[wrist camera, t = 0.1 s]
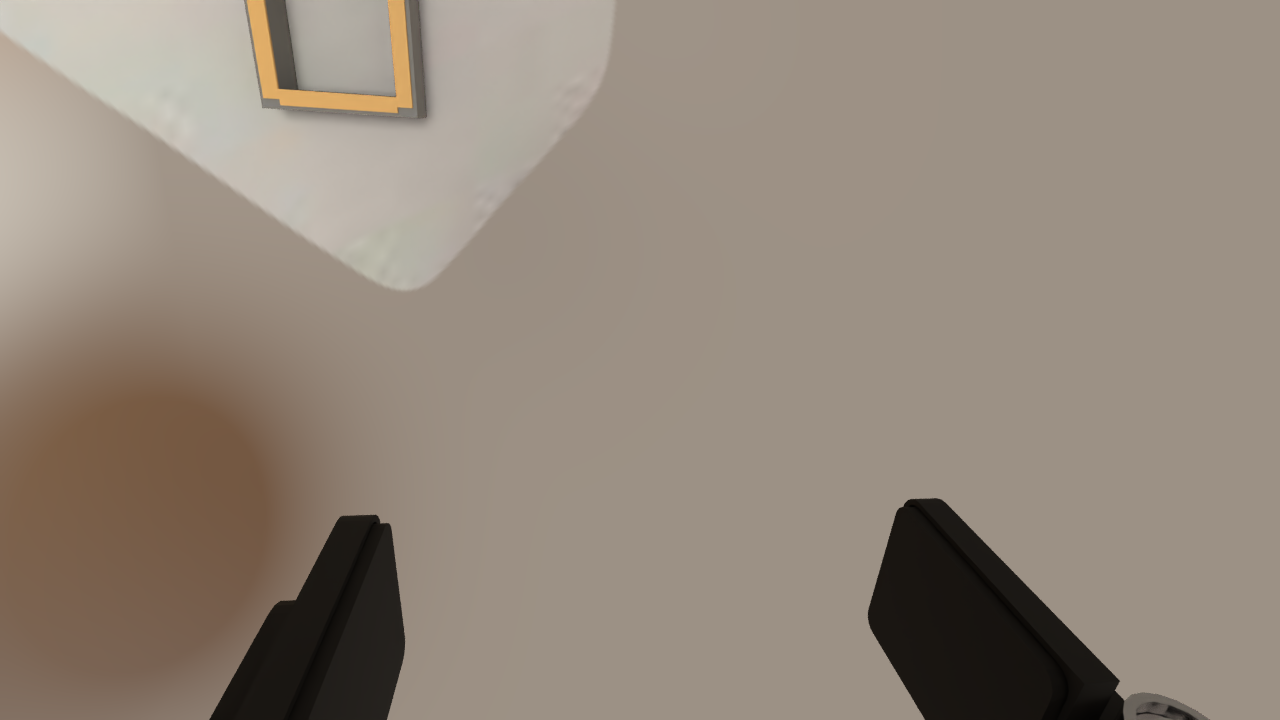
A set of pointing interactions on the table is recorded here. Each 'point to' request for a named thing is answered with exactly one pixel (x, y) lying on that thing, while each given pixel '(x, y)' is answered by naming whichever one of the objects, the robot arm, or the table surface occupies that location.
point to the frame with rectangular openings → (283, 93)
